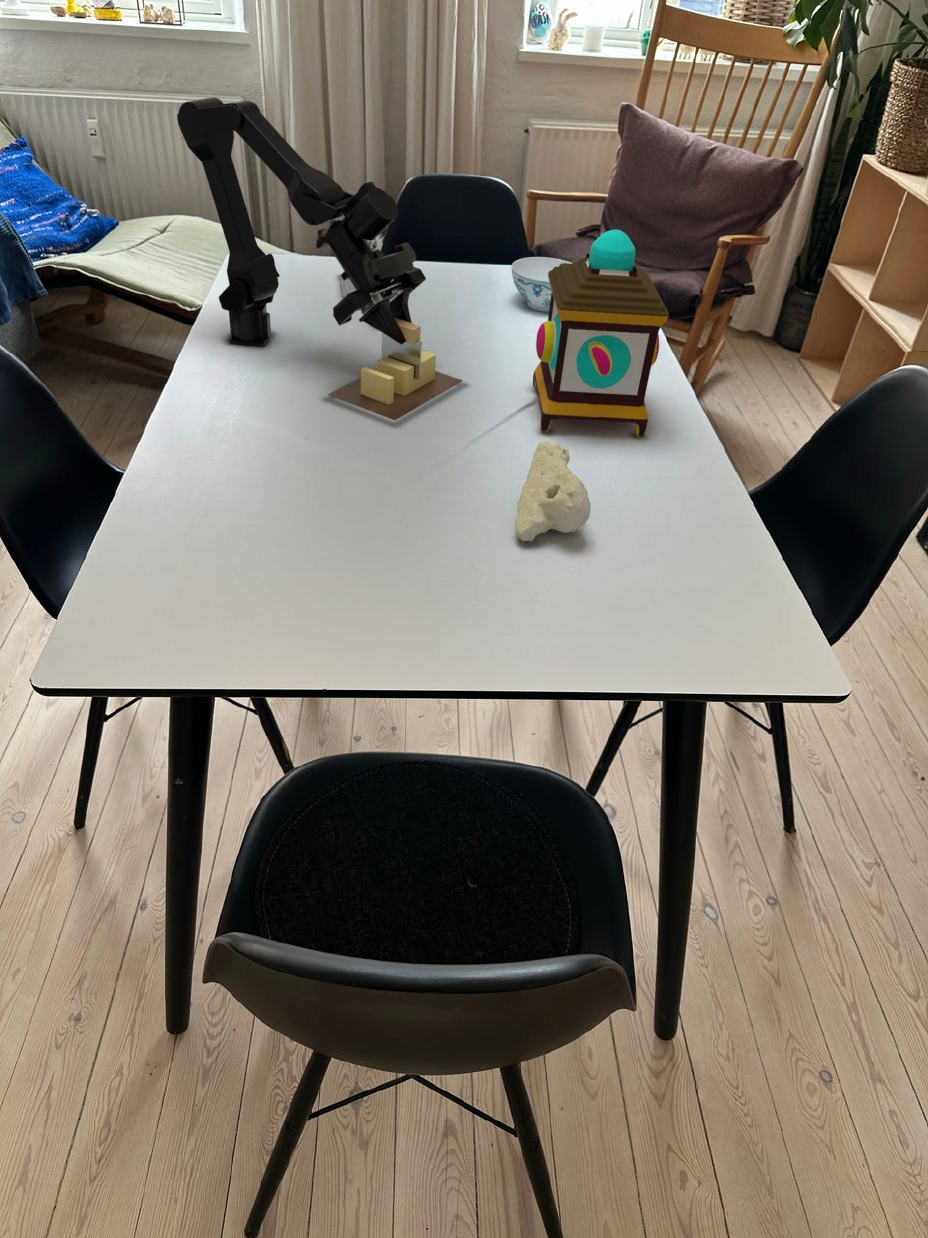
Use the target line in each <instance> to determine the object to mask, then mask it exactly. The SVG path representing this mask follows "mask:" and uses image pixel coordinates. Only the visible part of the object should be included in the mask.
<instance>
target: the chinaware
mask: <svg viewBox="0 0 928 1238" xmlns="http://www.w3.org/2000/svg"><path fill="white" fill-rule="evenodd" d="M562 263H569V264H572V263H573V262H570V261H567V260H564V259H559V258H556V257H555V258H554V257H546V256H530V257H523V258H519V259H517V260H515V261H513V262H512V264H511V276H512V280H513V284H514V286H515V289H516V291H517V292H518V294H519V295H520V296H521V297H522V298H523V299H524V300H525V301H526V302H527V304H526V305H527V306H528V307H529V308H530V309H531V310H535V311H539V312H548V313H549V309H550V301H551V293H552V290H551V286H550V283H549V278H548V272H549V271H550V270H553V268H554V267H559V266H560V264H562Z"/></svg>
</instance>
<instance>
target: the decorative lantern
mask: <svg viewBox="0 0 928 1238" xmlns="http://www.w3.org/2000/svg"><path fill="white" fill-rule="evenodd" d="M635 260H636V248H635V245H634V244H633V242H632V240H631V238H630V237H629V236H628V234H626V232H624V231H622V230H620V229H611V230H608V231H606V232H604V233H603V234H601V235H600V236H598V238H597V239H595V241H593V242H592V245H591V247H590V250H589V253H586V254H585V257H584V258H583V257H582V258H579V259H578V261H573V262H571V263H572V264H569V263H562V264H560V266H559V267H554V268H553V270H550V271H549V272H548V278H549V283H550V286H551V290H552V293H551V301H550V309H549V311H548V316H547V321H543V322H542V323H541V324H540V326H539V328H538V329H537V333H536V339H535V350H536V355H537V358H538V360H540V362H539V363H538V365H537V366H536V368H535V369H534V371H533V375H532V387H534V388H536V392H537V398H538V403H539V407H540V412H541V413H540V416H541V417H540V430H541V431H542V433H548V432H549V430H550V427H551V423H552V422H553V421H554V420H573V421H575V420H576V421H591V422H592V421H593V422H610V423H628V424H636V426H635V435H636V437H637V438H643V437H644V436H645V434H646V432H647V430H648V429H647V428H648V423H649V416H648V411H647V407H646V403H645V398H646V394H647V393H646V392H647V388H648V385H649V384H648V383H649V379H650V375H651V369H652V366H653V365H654V364H655V363H656V361H657V359H658V355H659V352H660V335H659V333H660V330H661V328H662V327H663V325H665V323H666V322H667V321H668V318H669V316H670V313H669V311H668V309H667V307H666V305H665V302H664V301H663V300H662V297H661V296H660V294H659V292H658V289H657V288H656V286H655V284H654V281H653V280H652V278H651V276H650V274H649V273H647V272H646V270H645V268H641V267H637V266H636V265H635Z"/></svg>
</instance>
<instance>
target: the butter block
mask: <svg viewBox="0 0 928 1238" xmlns="http://www.w3.org/2000/svg"><path fill="white" fill-rule="evenodd" d="M436 361H437V354H434V353H432V352H429V351H426V350H423V349H422V352H421V373H420V380H417V379H415V378H414V366H411V365H409V364H406V363H403V362H400V361H397V360H394V359H392V358H389V357H384V358H382V357H381V358H379V359H378V360H376V362H375V363H376V366H375V370H376V371H378V372H381V373H384V374H386V375H389V376H392V377H394V393H397V394H400V395H402V396H405V395H407V394H409V393H411V392H413V391H414V390H416V389H418V388H420V387H422V386H423V385H425V384H427V383H429V382H431V381H432V380H434V379H435V371H436Z"/></svg>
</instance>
